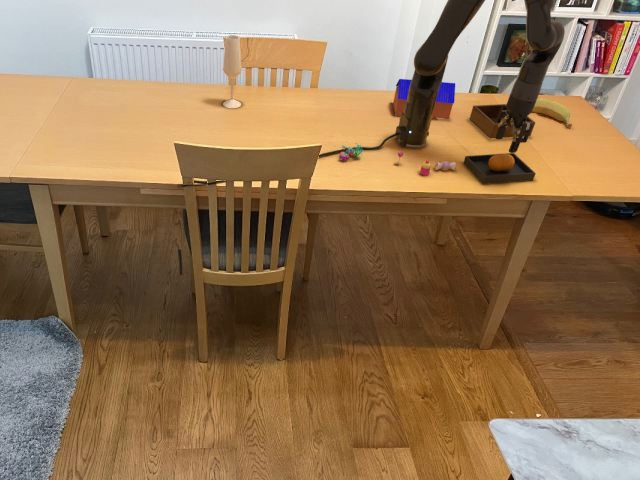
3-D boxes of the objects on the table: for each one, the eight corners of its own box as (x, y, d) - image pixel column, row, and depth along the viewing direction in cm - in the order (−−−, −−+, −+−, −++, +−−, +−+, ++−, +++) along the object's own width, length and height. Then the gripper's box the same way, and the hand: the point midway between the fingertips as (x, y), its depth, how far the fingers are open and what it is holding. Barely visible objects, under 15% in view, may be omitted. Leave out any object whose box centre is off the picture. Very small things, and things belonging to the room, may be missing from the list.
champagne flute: (240, 100, 220) (242, 34, 204) (241, 108, 215) (242, 40, 199) (222, 100, 219) (223, 34, 204) (223, 107, 214) (223, 40, 199)
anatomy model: (333, 140, 188) (344, 147, 183) (354, 137, 191) (366, 143, 186) (332, 156, 191) (343, 163, 186) (353, 152, 194) (364, 159, 189)
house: (392, 103, 224) (398, 72, 216) (444, 107, 222) (452, 76, 215) (394, 116, 215) (400, 85, 207) (449, 120, 213) (457, 89, 206)
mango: (490, 175, 183) (496, 160, 180) (483, 166, 187) (488, 152, 183) (514, 173, 185) (520, 159, 181) (506, 164, 188) (511, 150, 185)
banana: (538, 87, 222) (584, 113, 211) (534, 99, 226) (578, 125, 216) (513, 103, 218) (558, 130, 208) (509, 115, 222) (553, 142, 212)
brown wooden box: (489, 140, 203) (494, 124, 199) (468, 120, 214) (473, 105, 211) (529, 137, 206) (535, 122, 202) (507, 118, 217) (512, 103, 213)
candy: (449, 164, 189) (454, 147, 185) (456, 176, 183) (462, 159, 179) (394, 162, 188) (398, 145, 184) (399, 175, 182) (403, 158, 178)
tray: (482, 184, 180) (485, 176, 178) (463, 163, 190) (465, 155, 188) (532, 180, 183) (535, 173, 181) (511, 160, 193) (513, 152, 191)
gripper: (500, 84, 174) (483, 135, 185) (525, 105, 164) (505, 157, 174) (523, 84, 175) (504, 134, 186) (549, 104, 165) (528, 156, 176)
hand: (505, 145), depth 180 cm, fingers open, 8 cm apart
